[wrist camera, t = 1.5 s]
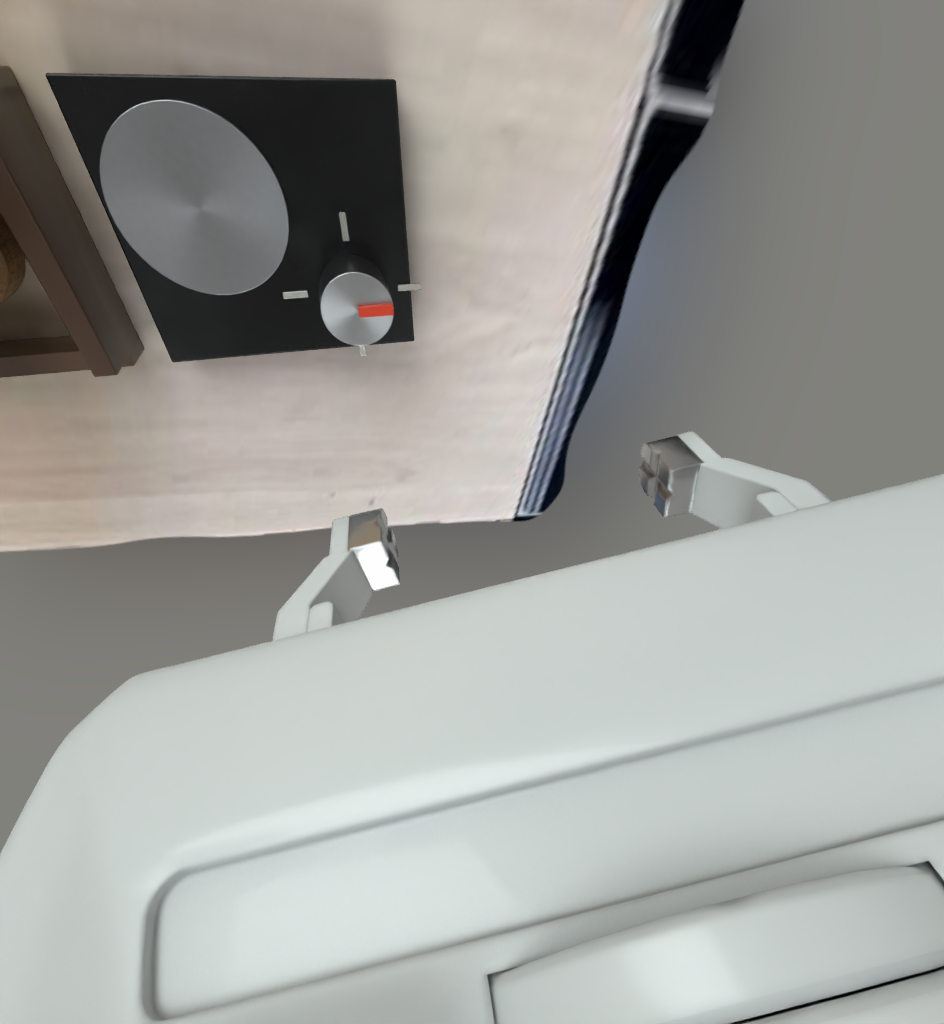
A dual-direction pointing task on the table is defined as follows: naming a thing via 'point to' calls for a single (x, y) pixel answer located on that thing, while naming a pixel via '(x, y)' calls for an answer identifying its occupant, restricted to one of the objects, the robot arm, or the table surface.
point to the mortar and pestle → (10, 262)
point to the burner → (194, 197)
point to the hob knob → (355, 300)
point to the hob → (308, 193)
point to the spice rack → (56, 256)
